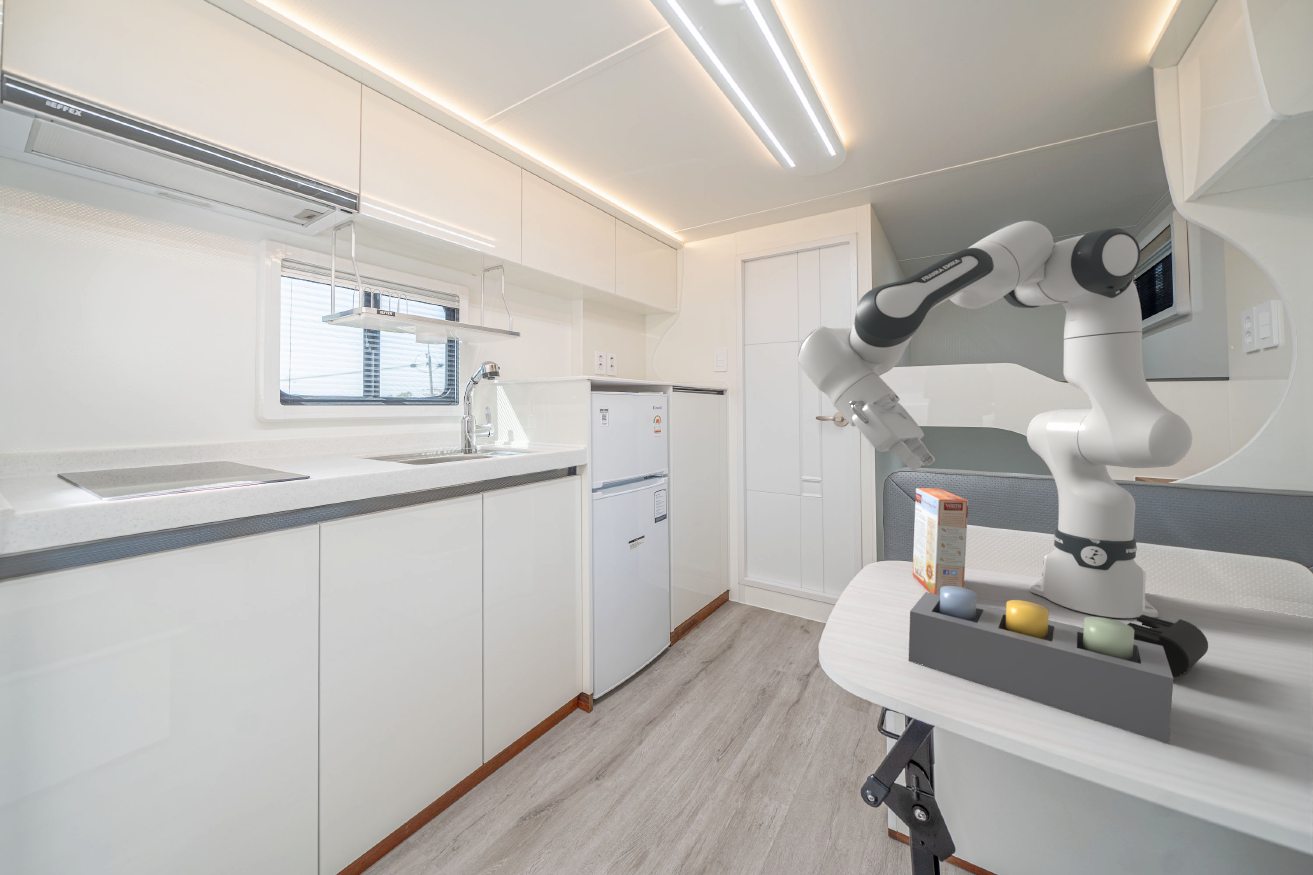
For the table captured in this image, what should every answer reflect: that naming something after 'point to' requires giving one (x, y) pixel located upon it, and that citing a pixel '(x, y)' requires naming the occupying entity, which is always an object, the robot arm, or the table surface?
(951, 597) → the slate button
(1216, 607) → the table surface
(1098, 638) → the sage button
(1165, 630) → the end cap
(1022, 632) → the amber button
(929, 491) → the cracker box
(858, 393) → the robot arm
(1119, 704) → the button console
